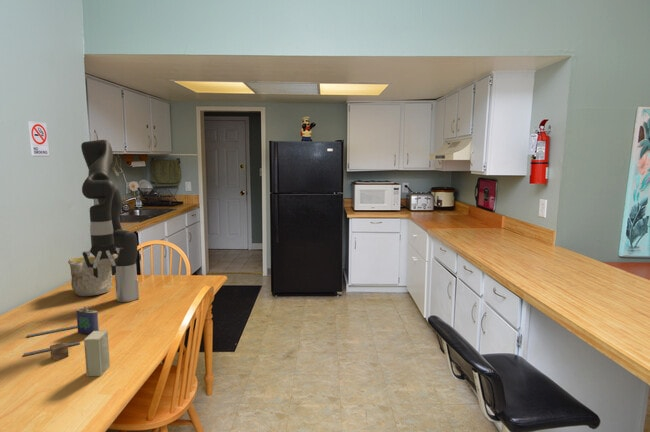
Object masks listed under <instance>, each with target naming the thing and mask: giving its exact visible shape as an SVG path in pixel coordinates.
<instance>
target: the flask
mask: <svg viewBox="0 0 650 432" xmlns="http://www.w3.org/2000/svg"><path fill="white" fill-rule="evenodd" d="M89 308H90V306H89V305H87V306H85V305H84V306H83V307H82V308H77V309H76V310H75V312H76V325H77V327H78V328H77V334H81V335H85V336H86V335H87V336H88V335H90V334H91V333H92V332H93V331H100V328H99V327H100V326H99V317H98V316H99V314H98V313H99V312H98V311H97V310H89Z"/></svg>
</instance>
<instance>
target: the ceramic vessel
mask: <svg viewBox="0 0 650 432" xmlns="http://www.w3.org/2000/svg"><path fill="white" fill-rule="evenodd" d="M117 257H118V253H117V252H116V253H115V252H114V253H113V254H112V258H113V259H115V258H117ZM88 259H89V261H90V263H91V264H93V262H94V259H95V256H94V255H90V256H89V257H88ZM67 263H68V265H69V266H70V267H69V268H70V274H71V289H72V290H73V292H74V293H75V295H76V296H79V297H90V296H92V297H93V296H98V295H101V294H106V293H108V292H109V291H111V289H112V286H113V276H114V275H112V270H111V265H112V263H111V262H110V260H109V259H101V260H99V262H98V264H97V269H98V278H96V276H94V275H93V268H91V267H87V264H86V262H85V259H84V257H83V256H78V257H77V256H76V257H73V258H70V259H69V260H68V262H67Z"/></svg>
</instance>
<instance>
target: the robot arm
mask: <svg viewBox="0 0 650 432" xmlns="http://www.w3.org/2000/svg"><path fill="white" fill-rule="evenodd" d="M81 153H82V156H83V158H84V161H85V164H86V167H87V169H88V176H87V178H86V179H85V180H84V181H83V183H82V186H81V193H82V195H83V196H84V197H85V198H87V199H88V200H89V199H90V200H96V199H97V202H98V204H95V205H92V206H90V207H89V219H90V220H89V221H90V222H89V233H90V234H89V236H90V245H91V247H90V249H89V250H86V251H82V257H84V259H85V262H86V264H87V267H91V268H93V275H94V276H96V278H98V269H97V264H98V262H99V260H101V259H109V260H110V262H111V263H112V265H111V270H112V275H113V276H114V281H115V297H116V301H117V302H118V303H127V302H133V301H136V300H139V299H140V294H139V293H140V292H139V280H138V279H139V278H138V274H137V272H138V271H137V258H138V237H137V235H136V233H135V232H134V231H132V230H123V227H122V225H121V222H120V216H121V215H120V214H121V211H122V208H123V200H122V195H121V191H120V189H119V188H118V186H117V185H116V184H115V183H114V182H113V181H112V180H110V168H111V166H112V162H113V159H114V158H113V157H114V152H113V148H112V145H111V143H110V142H109V140H107V139H97V140H90V141H84V142H82V143H81ZM115 251H116V254H117V255H118V257H117V258H115V259H113V258H112V254H113V253H115ZM90 254H91V255H92V256H95V259H94V262H93V264H91V263H90V261H89V259H88V257H89V256H91V255H90Z"/></svg>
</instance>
